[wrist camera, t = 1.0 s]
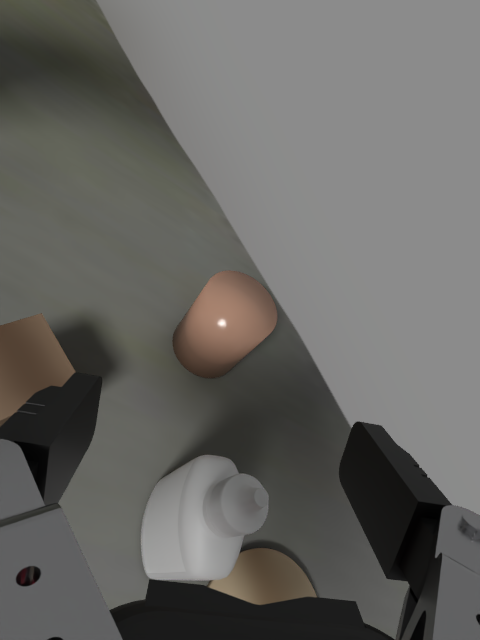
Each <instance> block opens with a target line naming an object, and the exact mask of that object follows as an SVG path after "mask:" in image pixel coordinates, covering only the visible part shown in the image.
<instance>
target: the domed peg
mask: <svg viewBox="0 0 480 640" xmlns="http://www.w3.org/2000/svg"><path fill="white" fill-rule="evenodd" d="M276 323H277V310H276V306H275V303H274V301H273V299H272V297H271V295H270V294H269V293H268V291H267V290H266V289H265V288H264V287H263V286H262V285H261V284H260V283H259V282H258V281H256V280H255V279H254V278H252V277H250V276H248V275H246V274H244V273H241V272H237V271H222V272H219V273H217V274H215V275H214V276H212V278H211V279H210V280H209V281H208V283H207V284H206V286H205V287H204V289H203V290H202V291H201V293H200V294H199V296H198V297H197V299H196V300H195V301H194V303H193V304H192V306H191V307H190V309H189V310H188V312H187V313H186V314H185V316H184V317H183V319H182V320H181V322H180V323H179V325H178V326H177V328H176V329H175V331H174V334H173V340H172V341H173V349H174V352H175V354H176V357H177V358H178V360H179V361H180V363H181V364H182V365H183V366H184V367H185V368H186V369H187V370H189V371H190V372H192V373H193V374H195V375H197V376H200V377H204V378H217V377H220V376H223V375H225V374H226V373H227V372H229V371H230V370H231V369H232V368H233V367H234V366H235V365H236V364H237V363H239V362H240V361H241V360H242V359H243V358H244V357H245V356H246V355H247V354H248V353H250V352H251V351H252V350H253V349H254V348H255V347H256V346H257V345H258V344H259V343H260V342H262V341H263V340H264V339H265V338H266V337H267V336H268V335H269V334H270V333H271V332H272V331H273V330H274V328H275V326H276Z"/></svg>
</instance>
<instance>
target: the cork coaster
mask: <svg viewBox="0 0 480 640" xmlns="http://www.w3.org/2000/svg"><path fill="white" fill-rule="evenodd" d="M207 587H209V588H212V589H215V590H217V591H220V592H223V593H226V594H228V595H231V596H234V597H236V598H239V599H242V600H245V601H247V602H250V603H253V604H257V605H263V604H269V603H274V602H280V601H285V600H291V599H296V598H302V597H307V596H308V597H317V596H316V593H315V591H314V589H313V587H312V585H311V583H310V581H309V579H308V578H307V576H306V574H305V573H304V572H303V571H302V569H301V568H300V567H299V566H298V565H297V564H296V563H295V562H294V561H293V560H292V559H291V558H289V557H288V556H286V555H285V554H283V553H281V552H279V551H276V550H273V549H268V548H255V549H249V550H245V551H242V552H240V553H239V556H238V558H237V561H236V563H235V566H234V568H233V570H232V571H231V573H230V574H229V575H228V576H227V577H226V578H223V579H220V580H210V582H209V584H208V586H207Z"/></svg>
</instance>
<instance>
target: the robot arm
mask: <svg viewBox="0 0 480 640" xmlns="http://www.w3.org/2000/svg"><path fill="white" fill-rule="evenodd" d="M101 386H102V378H101V377H100V376H94V375H88V374H82V373H77V372H75V373H74V374H73V375H72V376H71V377H70V378H69V379H68V380H67V381H66V383H65V384H64V385H63V386H62V387H58V386H52V385H51V386H49V387H47V388H44V389H42V390H40V391H38V392H35V393H34V394H33V395H32V396H31V397H30V398H29V399H28V400H27V401H26V403H25V404H23V405H22V406H21V407H20V408H19V409H18V410H17V413H16V412H15V413H14V414H13V415H12V416H11V417H10V418H9V419H8V420H7V421H6V422H5V423H4V424H3V425H2V426H1V427H0V640H480V515H478V514H476V513H474V512H472V511H470V510H468V509H465V508H462V507H459V506H454V505H452V504H451V503H450V502H449V501H448V500H447V498H446V497H445V496H444V495H443V493H442V492H441V491H440V490H439V489H438V487H437V486H436V485H435V484H434V483H433V482H432V481H431V479H430V478H427V474H426V473H425V472H424V471H423V470H422V468H419V465H418V464H417V462H416V461H415V460H414V459H413V458H412V456H411V455H410V454H409V453H407V452H406V451H404V450H403V449H402V448H401V447H400V446H398V445H397V444H396V443H395V442H394V441H393V439H392V438H391V437H390V436H389V434H388V433H387V432H386V431H385V429H384V428H383V427H382V426H380V425H374V424H369V423H364V422H356V423H355V424H354V425H353V427H352V429H351V432H350V435H349V438H348V441H347V444H346V447H345V450H344V453H343V456H342V459H341V462H340V467H339V478H340V482H341V485H342V487H343V489H344V491H345V493H346V495H347V497H348V499H349V501H350V503H351V506H352V508H353V510H354V512H355V514H356V516H357V518H358V520H359V522H360V524H361V526H362V528H363V530H364V532H365V534H366V537H367V539H368V541H369V543H370V545H371V547H372V549H373V551H374V553H375V555H376V557H377V559H378V561H379V563H380V565H381V567H382V570H383V572H384V574H385V576H386V578H387V579H393V580H401V581H408V583H409V585H410V586H409V588H408V590H407V593H406V595H405V598H404V602H403V607H402V611H401V616H400V620H399V625H398V630H397V634H396V639H393V638H392V637H390V636H388V635H387V634H385V633H383V632H382V631H380V630H378V629H376V628H374V627H372V626H370V625H368V624H365V623H364V622H363V620H362V617H361V614H360V612H359V609H358V606H357V604H356V602H355V601H346V600H336V599H327V598H318V597H308V596H307V597H302V598H296V599H291V600H285V601H280V602H274V603H269V604H263V605H257V604H253V603H250V602H247V601H245V600H242V599H239V598H236V597H234V596H231V595H228V594H226V593H223V592H220V591H217V590H215V589H212V588H209V587H207V586H204V585H197V584H187V583H178V582H169V581H160V580H150V579H149V584H148V589H147V594H146V599H145V600H139V601H134V602H130V603H127V604H124V605H120V606H118V607H116V608H114V609H111V610H109V609H108V607H107V605H106V602H105V600H104V598H103V596H102V594H101V592H100V589H99V587H98V585H97V583H96V581H95V579H94V576H93V574H92V572H91V570H90V568H89V566H88V563H87V561H86V559H85V557H84V555H83V553H82V551H81V548H80V546H79V544H78V542H77V540H76V538H75V535H74V533H73V531H72V529H71V527H70V525H69V522H68V520H67V518H66V516H65V514H64V512H63V510H62V508H61V506H60V505H59V504H58V502H59V500H60V499H61V497H62V495H63V493H64V491H65V489H66V488H67V486H68V484H69V482H70V480H71V478H72V477H73V475H74V473H75V471H76V469H77V467H78V466H79V464H80V462H81V460H82V458H83V456H84V455H85V453H86V451H87V449H88V447H89V445H90V443H91V441H92V438H93V435H94V431H95V427H96V421H97V414H98V407H99V400H100V393H101Z"/></svg>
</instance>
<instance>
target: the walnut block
mask: <svg viewBox="0 0 480 640" xmlns="http://www.w3.org/2000/svg"><path fill="white" fill-rule="evenodd" d="M74 373H75V370H74V368H73V366H72V365H71V363H70V361H69V360H68V358H67V356H66V354H65V353H64V351H63V349H62V348H61V346H60V344H59V342H58V341H57V339H56V337H55V335H54V334H53V332H52V330H51V329H50V327H49V325H48V323H47V322H46V320H45V318H44V317H43V315H42V313H41V314H38V315H34V316H31V317H28V318H24V319H21V320H18V321H14V322H11V323H8V324H4V325H1V326H0V427H1V426H2V425H3V424H4V423H5V422H6V421H7V420H8V419H9V418H10V417H11V416H12V415H13V414H14V413H15V412H16V413H17V410H18V409H19V408H20V407H21V406H22V405H23V404H25V403H26V401H27V400H28V399H29V398H30V397H31V396H32V395H33V394H34V393H35V392H38V391H40V390H42V389H44V388H47V387H49V386H51V385H52V386H58V387H62V386H63V385H64V384H65V383H66V381H67V380H68V379H69V378H70V377H71V376H72V375H73V374H74Z"/></svg>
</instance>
